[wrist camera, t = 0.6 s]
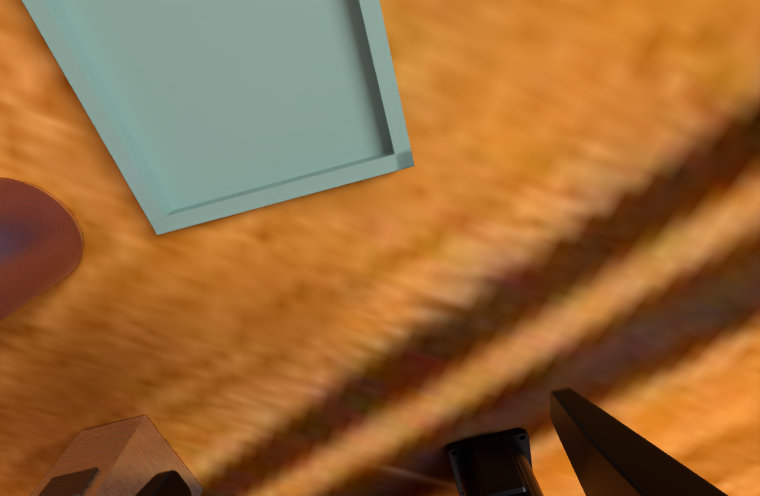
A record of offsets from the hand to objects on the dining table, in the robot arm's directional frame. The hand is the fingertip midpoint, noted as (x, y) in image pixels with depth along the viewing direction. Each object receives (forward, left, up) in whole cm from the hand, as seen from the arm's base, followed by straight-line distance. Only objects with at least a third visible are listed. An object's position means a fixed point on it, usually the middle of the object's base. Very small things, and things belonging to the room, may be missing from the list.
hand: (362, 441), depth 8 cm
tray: (+10, +3, -13) cm, 17 cm away
